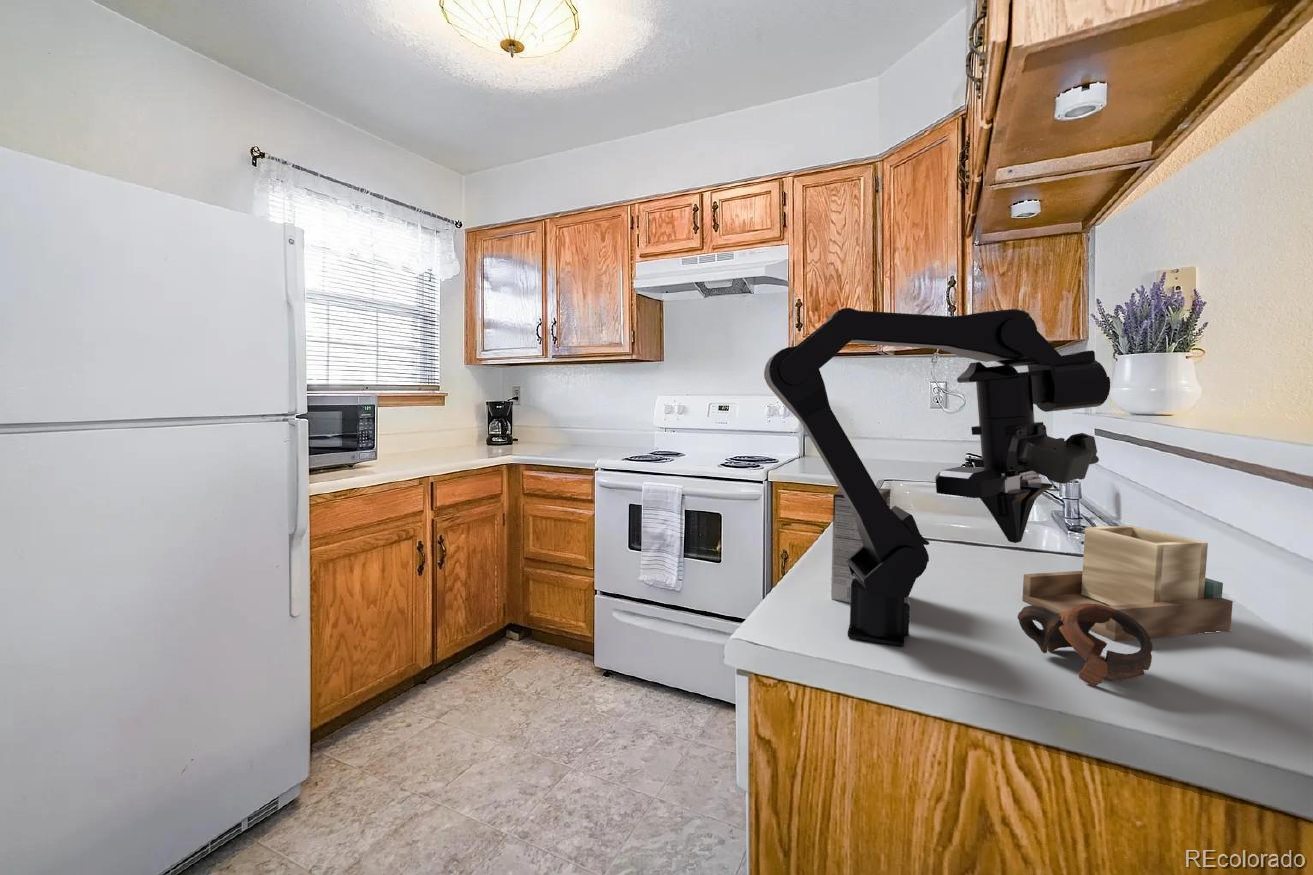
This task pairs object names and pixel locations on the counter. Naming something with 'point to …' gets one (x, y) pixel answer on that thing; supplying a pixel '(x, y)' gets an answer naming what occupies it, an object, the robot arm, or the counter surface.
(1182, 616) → the bay
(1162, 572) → the crate
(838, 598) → the coffee box
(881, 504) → the robot arm
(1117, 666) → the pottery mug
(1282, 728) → the counter surface
